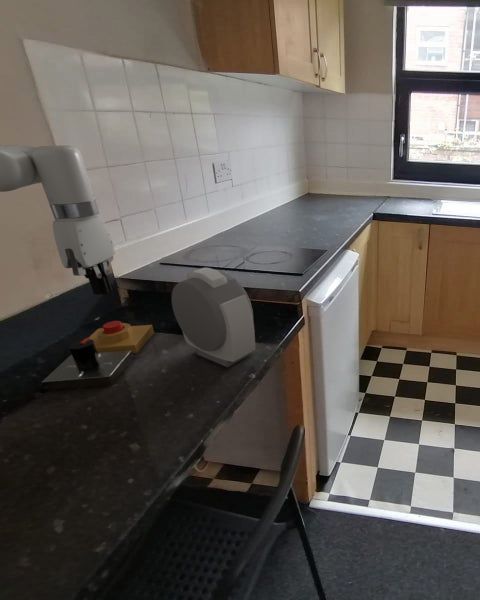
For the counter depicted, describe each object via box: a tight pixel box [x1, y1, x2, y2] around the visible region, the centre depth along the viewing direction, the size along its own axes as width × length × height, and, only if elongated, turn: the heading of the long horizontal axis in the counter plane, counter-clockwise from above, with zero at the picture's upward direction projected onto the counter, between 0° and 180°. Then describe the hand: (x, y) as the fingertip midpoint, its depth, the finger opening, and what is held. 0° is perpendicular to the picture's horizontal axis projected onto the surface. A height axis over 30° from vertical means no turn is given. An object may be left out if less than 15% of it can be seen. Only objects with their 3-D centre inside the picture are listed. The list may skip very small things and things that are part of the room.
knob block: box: [88, 322, 155, 355], centre depth 94 cm, size 12×10×4 cm
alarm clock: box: [171, 266, 256, 368], centre depth 86 cm, size 18×8×20 cm, turn 59°
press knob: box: [102, 320, 123, 334], centre depth 93 cm, size 4×4×2 cm
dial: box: [68, 337, 101, 370], centre depth 82 cm, size 4×4×5 cm
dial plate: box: [41, 350, 134, 391], centre depth 83 cm, size 12×10×2 cm
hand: (103, 292), depth 89 cm, fingers closed
